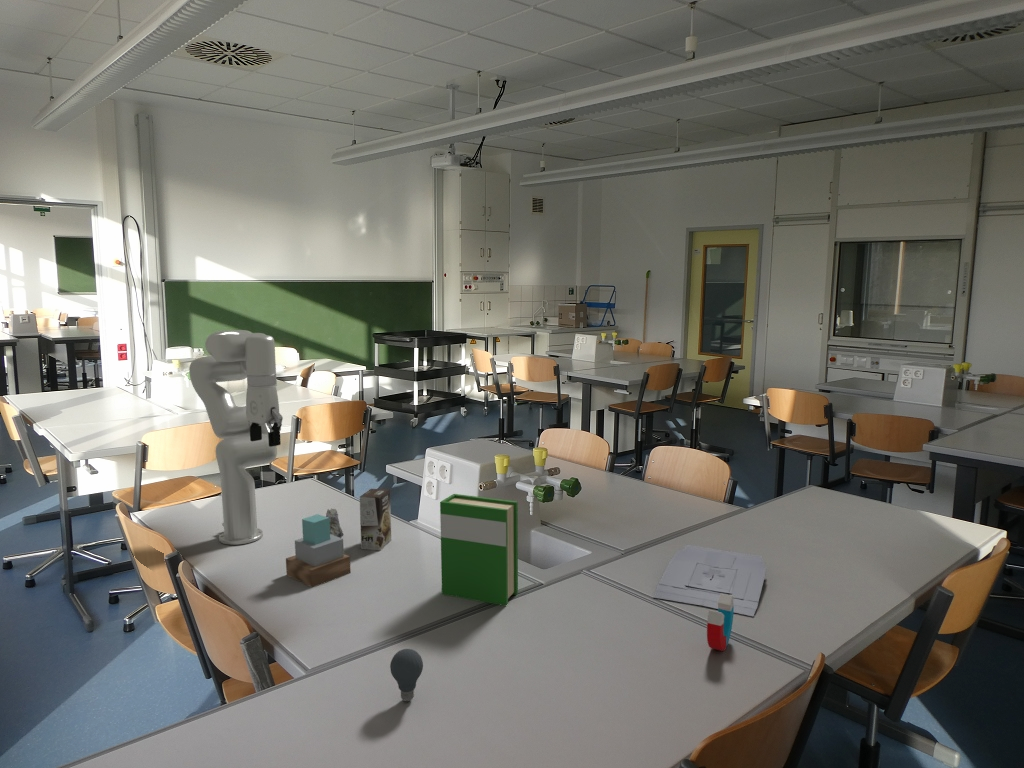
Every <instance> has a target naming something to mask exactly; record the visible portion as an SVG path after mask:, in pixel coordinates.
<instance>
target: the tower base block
mask: <svg viewBox="0 0 1024 768" xmlns="http://www.w3.org/2000/svg"><path fill="white" fill-rule="evenodd" d="M285 567H286V576H288V577H290V578H292V579H294V580H296V581H298V582H300V583H301V584H302V583H303V584H304V585H306V586H309V587H310V588H314V587H317V586H319V585H322V584H325V583H327V582H331V581H332V579H333V580H336V579H339V578H340V577H343V576H346V575H348V574H351V570H352V569H351V556H350V555H347V554H344V557H342V558H339V559H336V560H333V561H330V562H328V563H325V564H322V565H319V566H316V567H314V566H312V565H309V564H307V563H305V562H303V561H301V560H298V559H296V554H295V555H292V556H289V557H286V558H285ZM335 578H336V579H335ZM324 582H325V583H324Z"/></svg>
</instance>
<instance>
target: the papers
mask: <svg viewBox="0 0 1024 768" xmlns="http://www.w3.org/2000/svg"><path fill="white" fill-rule="evenodd" d="M762 560H763V556H762V555H756V554H751V553H750V554H749V553H742V552H737V551H730V550H729V551H727V550H723V549H716V548H710V547H705V546H698V545H692V544H685V546H684V549H682V548H679V549H678V551H677V552H676V553H674V554H673V556H672V558H671V559H670V561H669V562H668V565H667V566H666V567H665V570H664V572H663V574H662V577H661V578H660V580H659V581H658V584H657V586H656V589H655V592H654V595H653V598H655V599H661V600H667V601H674V602H679V603H684V604H691V605H696V606H697V605H698V606H703V607H708V608H712V609H717V610H718V600H719V597H720V594H721V593H723V594H728V595H732V596H733V601H734V611H733V613H736V614H739V615H745V616H749V617H754V616H755V613H756V610H757V609H758V605H759V602H760V597H761V593H762V589H763V585H764V582H765V581H764V580H765V577H766V572H767V568H766V564H767V562H764V561H762Z"/></svg>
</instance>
